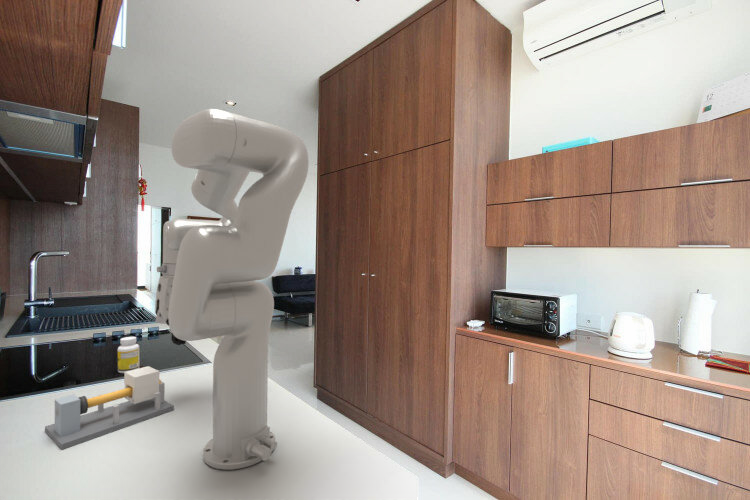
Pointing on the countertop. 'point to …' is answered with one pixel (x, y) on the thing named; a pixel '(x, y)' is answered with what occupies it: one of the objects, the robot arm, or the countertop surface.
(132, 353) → the supplement bottle
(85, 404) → the linear actuator
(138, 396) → the white sliding carriage
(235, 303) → the robot arm
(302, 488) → the countertop surface
